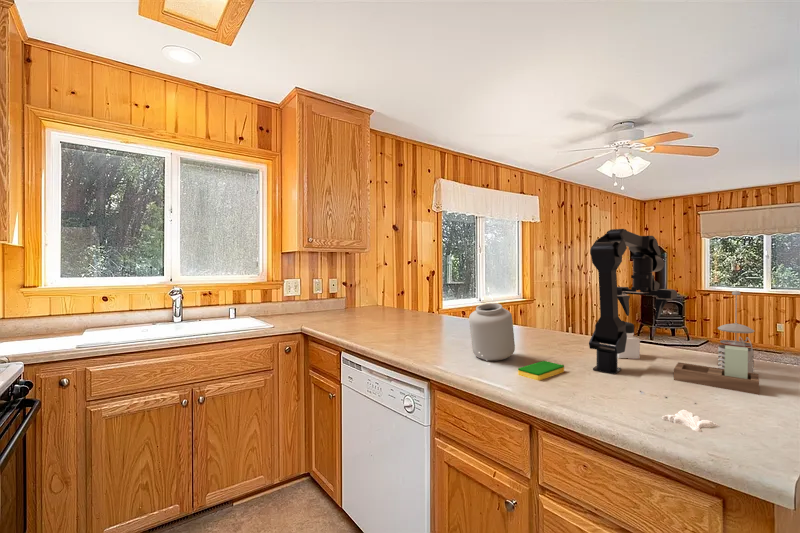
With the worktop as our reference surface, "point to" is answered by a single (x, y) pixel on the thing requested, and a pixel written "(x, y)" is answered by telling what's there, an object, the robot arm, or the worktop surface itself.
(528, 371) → the dish sponge
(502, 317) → the jar
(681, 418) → the acanthus leaf ornament
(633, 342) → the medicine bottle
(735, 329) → the french press
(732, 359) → the green block
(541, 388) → the worktop surface
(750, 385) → the pocket holder
